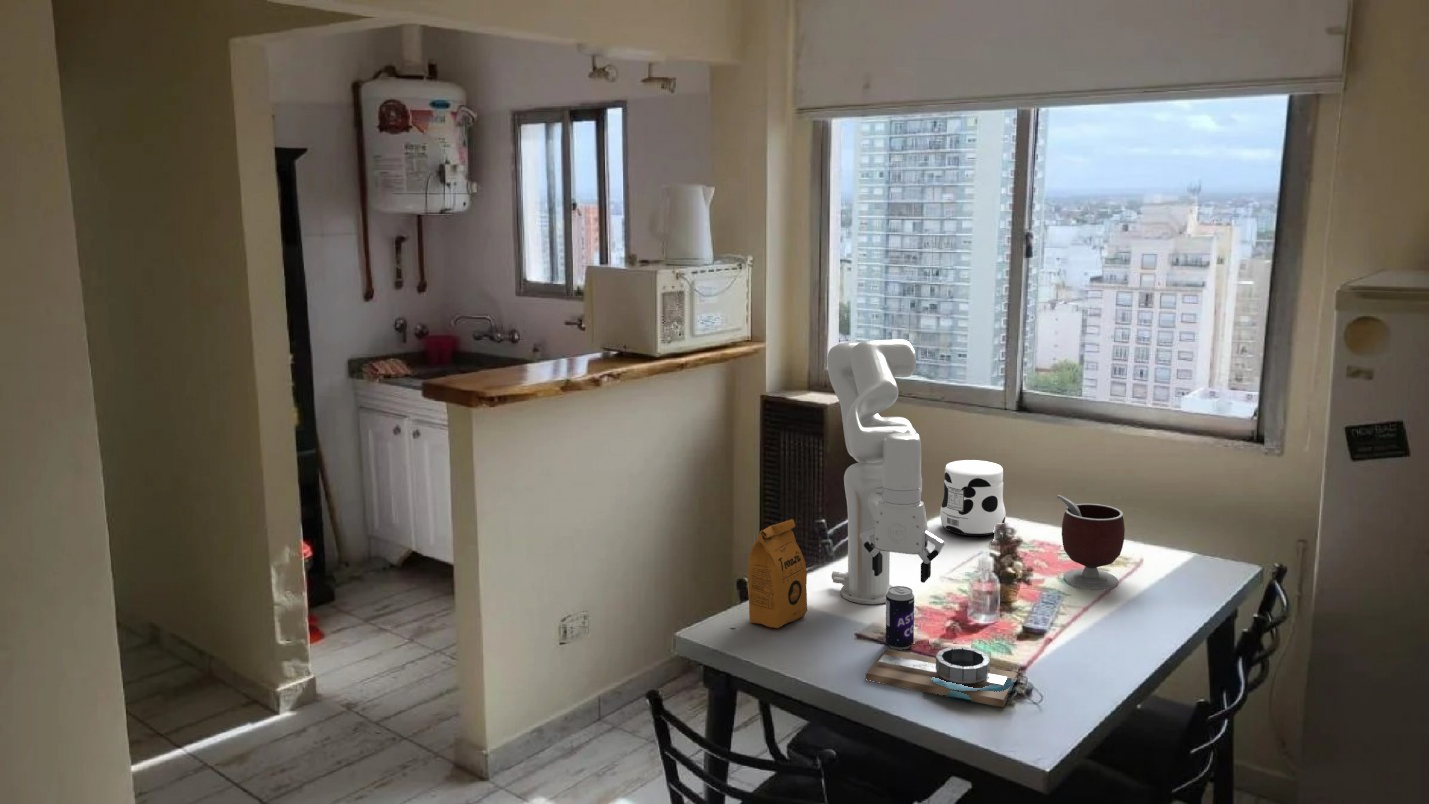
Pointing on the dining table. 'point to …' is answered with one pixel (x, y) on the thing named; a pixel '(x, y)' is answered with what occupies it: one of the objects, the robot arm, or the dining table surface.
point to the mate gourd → (1092, 543)
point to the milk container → (972, 497)
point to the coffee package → (777, 577)
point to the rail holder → (951, 666)
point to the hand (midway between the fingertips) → (901, 577)
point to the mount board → (927, 685)
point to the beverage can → (899, 617)
